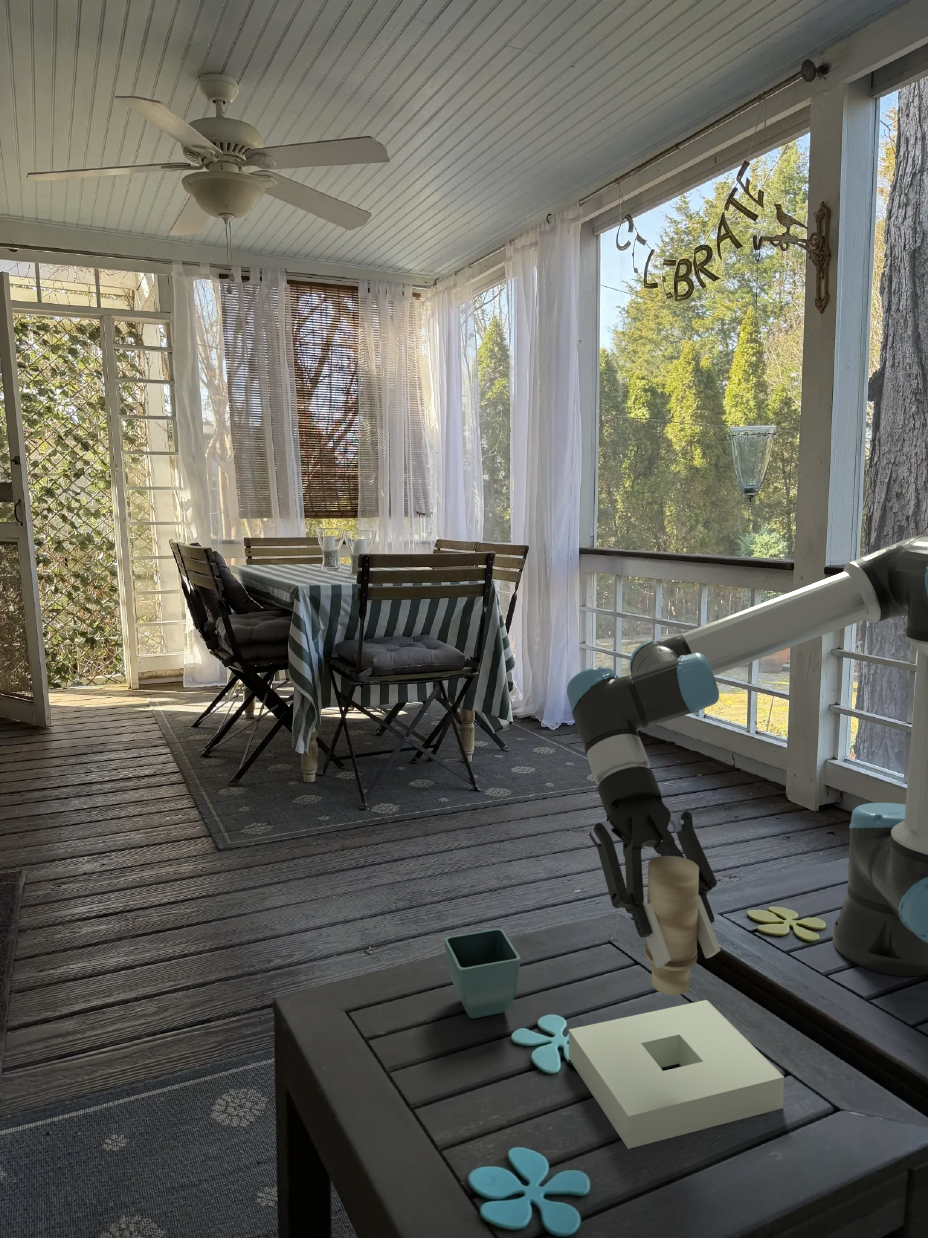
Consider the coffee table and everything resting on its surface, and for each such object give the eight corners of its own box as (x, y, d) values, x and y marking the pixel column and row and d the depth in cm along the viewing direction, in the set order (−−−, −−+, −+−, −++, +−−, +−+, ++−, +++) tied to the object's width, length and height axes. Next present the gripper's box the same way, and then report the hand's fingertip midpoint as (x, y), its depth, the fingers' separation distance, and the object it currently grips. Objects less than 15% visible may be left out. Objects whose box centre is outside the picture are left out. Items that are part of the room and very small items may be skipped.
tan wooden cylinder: (679, 967, 106) (682, 852, 104) (706, 993, 101) (710, 873, 98) (636, 975, 105) (638, 859, 102) (661, 1003, 99) (663, 881, 97)
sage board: (706, 1027, 115) (706, 1000, 114) (782, 1108, 100) (784, 1077, 99) (568, 1058, 109) (568, 1029, 108) (628, 1149, 94) (628, 1116, 93)
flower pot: (460, 1031, 115) (459, 969, 114) (444, 995, 123) (443, 936, 122) (522, 1019, 117) (521, 958, 116) (502, 984, 126) (501, 927, 124)
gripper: (676, 782, 117) (744, 955, 104) (549, 798, 112) (603, 982, 99) (698, 756, 111) (773, 935, 98) (565, 771, 106) (625, 963, 93)
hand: (688, 958), depth 98 cm, fingers closed on tan wooden cylinder, 6 cm apart
